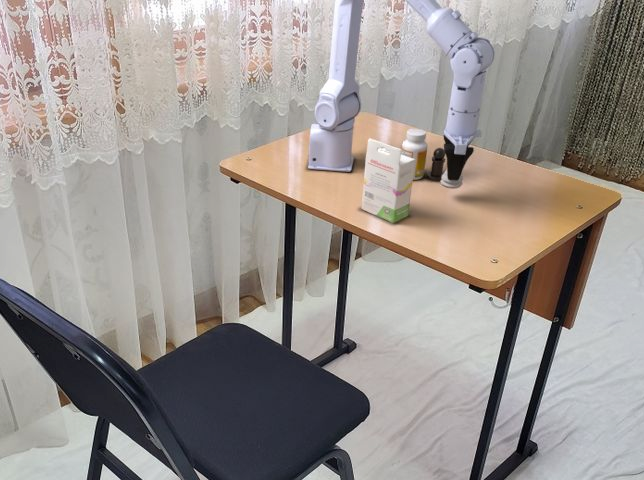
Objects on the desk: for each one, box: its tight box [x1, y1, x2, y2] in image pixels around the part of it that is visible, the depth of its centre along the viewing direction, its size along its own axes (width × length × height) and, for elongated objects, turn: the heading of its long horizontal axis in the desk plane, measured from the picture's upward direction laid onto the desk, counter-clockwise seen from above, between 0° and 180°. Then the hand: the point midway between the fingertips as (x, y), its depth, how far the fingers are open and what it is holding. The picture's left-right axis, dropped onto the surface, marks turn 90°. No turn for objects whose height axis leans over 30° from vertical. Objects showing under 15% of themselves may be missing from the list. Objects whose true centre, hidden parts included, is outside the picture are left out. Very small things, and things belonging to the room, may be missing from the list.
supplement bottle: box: [401, 128, 429, 181], centre depth 156 cm, size 5×5×10 cm
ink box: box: [361, 137, 415, 224], centre depth 141 cm, size 9×5×15 cm, turn 42°
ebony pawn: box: [426, 147, 447, 182], centre depth 157 cm, size 4×4×7 cm
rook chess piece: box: [440, 168, 464, 190], centre depth 146 cm, size 4×4×8 cm
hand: (452, 175), depth 147 cm, fingers closed on rook chess piece, 3 cm apart
